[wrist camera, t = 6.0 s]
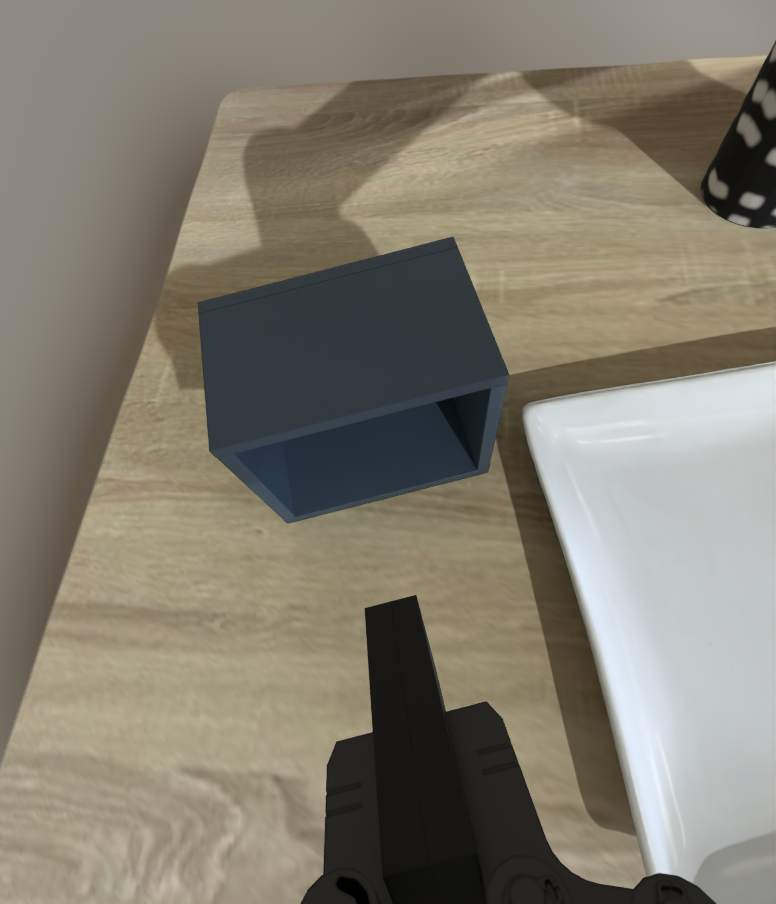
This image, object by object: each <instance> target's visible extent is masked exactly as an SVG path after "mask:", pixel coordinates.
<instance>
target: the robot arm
mask: <svg viewBox="0 0 776 904" xmlns="http://www.w3.org/2000/svg"><path fill="white" fill-rule="evenodd" d="M365 620H366V635H367V650H368V665H369V680H370V695H371V710H372V726H373V732H372V733H368V734H364V735H361V736H357V737H353V738H349V739H345V740H341V741H337V742H336V744H335V747H334V749H333V752H332V754H331V757H330V759H329V762H328V764H327V781H326V792H327V795H326V811H325V812H326V817H325V842H324V872H323V875H322V876H321V877H320V878H319V879H318V880H317V881H316V882H315V883H314V884H313V885H312V886H311V887H310V888H309V889H308V891H307V893H306V894H305V896H304V898H303V900H302V902H301V904H716V902H714V901H713V900H712V899H711V898H710V897H709V896H708V895H707V894H706V893H705V892H704V891H703V890H702V889H701V888H699V887H698V886H697V885H695V884H693V883H691V882H689V881H687V880H685V879H683V878H681V877H680V876H677V875H670V874H663V873H657V874H654V875H651V876H648V877H645V878H643V879H642V880H641V881H640V882H639V883H638V885H637V886H636V887H635V888H634V889H629V888H623V887H616V886H609V885H603V884H598V883H594V882H591V881H587V880H585V879H583V878H581V877H579V876H577V875H576V874H574V873H572V872H571V871H570V870H569V869H568V868H566V867H565V866H564V865H563V864H562V863H561V862H560V861H559V859H558V858H557V857H556V856H555V854H554V853H553V852H552V850H551V848H550V846H549V844H548V842H547V840H546V837H545V834H544V832H543V829H542V826H541V823H540V821H539V818H538V815H537V812H536V810H535V807H534V804H533V801H532V799H531V796H530V793H529V790H528V788H527V785H526V782H525V779H524V777H523V774H522V771H521V768H520V766H519V763H518V760H517V757H516V755H515V752H514V749H513V746H512V744H511V741H510V738H509V735H508V732H507V730H506V727H505V724H504V721H503V719H502V718H501V716H500V715H499V714H498V713H497V712H496V711H495V710H494V709H493V708H492V707H491V706H490V705H489V704H488V702H487V701H486V702H482V703H479V704H475V705H471V706H467V707H463V708H459V709H455V710H452V711H448V712H446V710H445V706H444V701H443V697H442V693H441V689H440V685H439V680H438V676H437V672H436V668H435V664H434V660H433V656H432V653H431V649H430V645H429V641H428V638H427V634H426V630H425V626H424V623H423V619H422V615H421V611H420V608H419V604H418V600H417V596H416V595H414V596H410V597H406V598H403V599H399V600H395V601H391V602H387V603H383V604H379V605H376V606H372V607H368V608H365Z"/></svg>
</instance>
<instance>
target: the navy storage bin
mask: <svg viewBox="0 0 776 904" xmlns="http://www.w3.org/2000/svg"><path fill="white" fill-rule="evenodd" d="M198 313H199V326H200V338H201V351H202V364H203V376H204V389H205V401H206V414H207V427H208V439H209V451H210V452H211V453H212V454H213V455H214V456H215V457H216V458H218V459H219V460H220V461H221V462H222V463H223V464H224V465H225V466H226V467H227V468H228V469H229V470H231V471H232V472H233V473H234V474H235V475H236V476H237V477H238V478H239V479H240V480H241V481H242V482H244V483H245V484H246V485H247V486H248V487H249V488H250V489H251V490H252V491H253V492H254V493H255V494H257V495H258V496H259V497H260V498H261V499H262V500H263V501H264V502H265V503H266V504H267V505H268V506H269V507H271V508H272V509H273V510H274V511H275V512H276V513H277V514H278V515H279V516H280V517H281V518H282V519H284V521H285V522H286V523H292V522H296V521H300V520H303V519H307V518H311V517H315V516H319V515H323V514H327V513H331V512H335V511H339V510H343V509H346V508H350V507H354V506H358V505H362V504H366V503H370V502H374V501H378V500H382V499H386V498H389V497H393V496H397V495H401V494H405V493H409V492H413V491H417V490H421V489H425V488H429V487H432V486H436V485H440V484H444V483H448V482H452V481H456V480H460V479H464V478H468V477H472V476H475V475H479V474H483V473H487V472H488V470H489V465H490V461H491V456H492V451H493V447H494V442H495V438H496V433H497V428H498V424H499V419H500V414H501V410H502V405H503V400H504V396H505V391H506V387H507V382H508V377H509V373H508V370H507V368H506V365H505V363H504V361H503V358H502V356H501V353H500V351H499V348H498V346H497V343H496V341H495V338H494V336H493V333H492V331H491V328H490V326H489V323H488V321H487V318H486V316H485V314H484V311H483V309H482V306H481V304H480V301H479V299H478V296H477V294H476V291H475V289H474V286H473V284H472V281H471V279H470V276H469V274H468V271H467V269H466V267H465V264H464V262H463V259H462V257H461V254H460V252H459V249H458V247H457V244H456V242H455V239H454V237H450V238H446V239H442V240H438V241H435V242H431V243H427V244H423V245H419V246H415V247H411V248H407V249H404V250H400V251H396V252H392V253H388V254H384V255H380V256H376V257H372V258H369V259H365V260H361V261H357V262H353V263H349V264H345V265H341V266H338V267H334V268H330V269H326V270H322V271H318V272H314V273H310V274H307V275H303V276H299V277H295V278H291V279H287V280H283V281H279V282H275V283H272V284H268V285H264V286H260V287H256V288H252V289H248V290H244V291H241V292H237V293H233V294H229V295H225V296H221V297H217V298H213V299H209V300H206V301H202V302H198Z"/></svg>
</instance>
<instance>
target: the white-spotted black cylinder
mask: <svg viewBox="0 0 776 904" xmlns="http://www.w3.org/2000/svg"><path fill="white" fill-rule="evenodd" d="M701 191H702V196H703V198H704V200H705V202H706V203H707V204H708V206H709V207H710V208H711V209H712V210H713V211H715V212H716V213H717V214H718V215H720V216H722V217H723V218H725V219H727V220H729V221H732V222H734V223H737V224H740V225H744V226H748V227H756V228H774V227H776V41H775V43H774V45H773V47H772V49H771V51H770V52H769V54H768V56H767V58H766V60H765V62H764V64H763V66H762V68H761V70H760V71H759V73H758V75H757V77H756V79H755V81H754V83H753V85H752V87H751V89H750V90H749V92H748V94H747V96H746V98H745V100H744V102H743V104H742V106H741V108H740V109H739V111H738V113H737V115H736V117H735V119H734V121H733V123H732V125H731V127H730V128H729V130H728V132H727V134H726V136H725V138H724V140H723V142H722V144H721V146H720V147H719V149H718V151H717V153H716V155H715V157H714V159H713V161H712V163H711V165H710V166H709V168H708V170H707V172H706V174H705V176H704V178H703V180H702V185H701Z"/></svg>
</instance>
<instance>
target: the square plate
mask: <svg viewBox="0 0 776 904" xmlns="http://www.w3.org/2000/svg"><path fill="white" fill-rule="evenodd" d="M521 417H522V422H523V427H524V431H525V435H526V438H527V442H528V446H529V450H530V453H531V456H532V459H533V462H534V465H535V469H536V471H537V474H538V478H539V481H540V484H541V487H542V490H543V493H544V496H545V499H546V501H547V505H548V508H549V511H550V514H551V517H552V520H553V523H554V526H555V529H556V532H557V536H558V539H559V542H560V545H561V548H562V551H563V555H564V558H565V561H566V564H567V568H568V571H569V574H570V577H571V580H572V584H573V587H574V591H575V594H576V598H577V601H578V604H579V608H580V611H581V615H582V618H583V622H584V625H585V629H586V632H587V636H588V639H589V643H590V647H591V651H592V654H593V658H594V662H595V666H596V670H597V674H598V678H599V682H600V686H601V689H602V693H603V697H604V701H605V705H606V709H607V713H608V717H609V721H610V726H611V730H612V734H613V738H614V742H615V747H616V751H617V755H618V759H619V763H620V767H621V772H622V776H623V780H624V784H625V788H626V793H627V797H628V801H629V805H630V809H631V814H632V818H633V822H634V826H635V830H636V834H637V839H638V843H639V847H640V851H641V855H642V860H643V864H644V867H645V871H646V875H647V877H648V876H651V875H654V874H657V873H663V874H670V875H677V876H680V877H681V878H683V879H685V880H687V881H689V882H691V883H693V884H695V885H697V886H698V887H699V888H701V889H702V890H703V891H704V892H705V893H706V894H707V895H708V896H709V897H710V898H711V899H712V900H713V901H714V902H716V904H776V361H774V362H768V363H762V364H756V365H750V366H743V367H737V368H731V369H725V370H720V371H714V372H708V373H701V374H694V375H688V376H682V377H676V378H670V379H664V380H658V381H652V382H644V383H637V384H630V385H624V386H618V387H612V388H605V389H599V390H592V391H586V392H580V393H575V394H569V395H563V396H557V397H553V398H548V399H543V400H538V401H533V402H529V403H527V404H525V405H524V406H523V407H522V409H521Z"/></svg>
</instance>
